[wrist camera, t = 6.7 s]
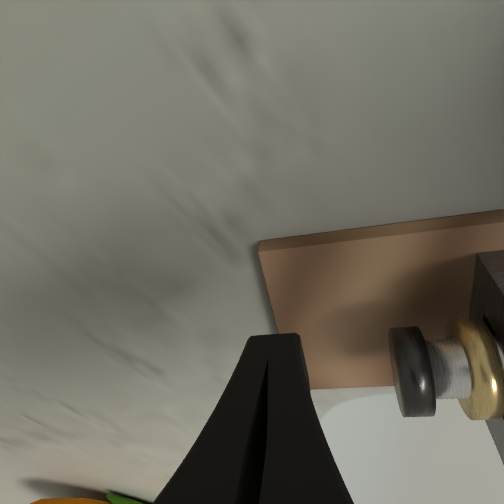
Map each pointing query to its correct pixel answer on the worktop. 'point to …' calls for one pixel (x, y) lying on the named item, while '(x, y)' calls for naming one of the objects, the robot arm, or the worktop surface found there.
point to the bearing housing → (490, 313)
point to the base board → (373, 289)
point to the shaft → (449, 369)
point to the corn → (89, 500)
